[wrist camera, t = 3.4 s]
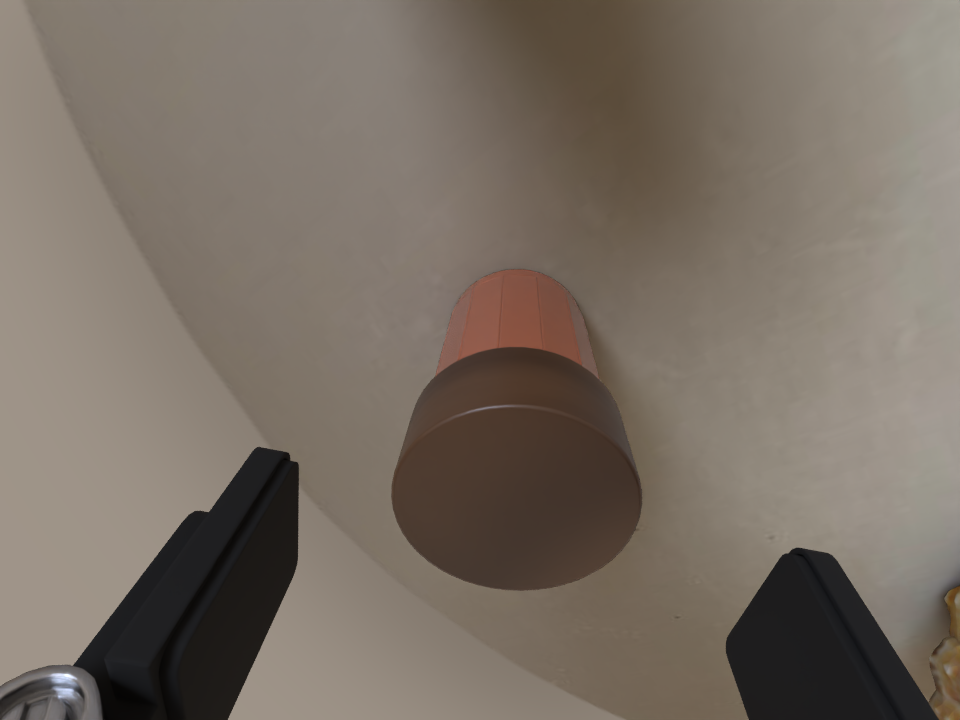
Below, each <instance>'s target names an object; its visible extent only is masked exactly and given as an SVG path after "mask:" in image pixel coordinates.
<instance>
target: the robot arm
mask: <svg viewBox="0 0 960 720" xmlns="http://www.w3.org/2000/svg"><path fill="white" fill-rule="evenodd" d="M298 490H299V465H298V462H293V461H290V455H289V453H287V452H283V451H277V450H272V449H267V448H261V447H257V448H256V449H254V451H253V452H252V453H251V454H250V456H249V457H248V459H247V460H246V461H245V463H244V464H243V466H242V467H241V468H240V470H239V471H238V473H237V474H236V475H235V477H234V478H233V480H232V481H231V482H230V484H229V485H228V487H227V488H226V489H225V491H224V492H223V493H222V495H221V496H220V498H219V499H218V500H217V502H216V503H215V505H214V506H213V508H212V509H211V510H210V511H209V512H204V511H194V512H193V513H191V514H190V515H188V517H187V518H186V519H185V520H184V521H183V522H182V523H181V525H180V526H179V527H178V529H177V530H176V531H175V532H174V534H173V535H172V537H171V538H170V539H169V540H168V542H167V543H166V544H165V546H164V547H163V548H162V550H161V551H160V552H159V553H158V555H157V556H156V558H155V559H154V560H153V561H152V563H151V564H150V565H149V567H148V568H147V569H146V571H145V572H144V573H143V575H142V576H141V577H140V578H139V580H138V581H137V583H136V584H135V585H134V586H133V588H132V589H131V590H130V592H129V593H128V594H127V595H126V597H125V598H124V600H123V601H122V602H121V603H120V605H119V606H118V607H117V609H116V610H115V612H114V613H113V614H112V615H111V616H110V618H109V619H108V620H107V622H106V623H105V625H104V626H103V627H102V628H101V630H100V631H99V632H98V634H97V635H96V636H95V637H94V639H93V640H92V642H91V643H90V644H89V645H88V647H87V648H86V649H85V651H84V652H83V653H82V655H81V656H80V658H78V660H77V661H76V663H75V664H74V665H73V666H71V665H52V666H46V667H42V668H39V669H36V670H32V671H29V672H26V673H24V674H22V675H20V676H18V677H16V678H14V679H12V680H10V681H8V682H6V683H4V684H3V685H2V686H0V720H228V718H229V715H230V713H231V711H232V709H233V707H234V705H235V702H236V700H237V698H238V696H239V694H240V692H241V689H242V687H243V685H244V683H245V681H246V678H247V676H248V674H249V672H250V669H251V668H252V665H253V663H254V661H255V659H256V657H257V654H258V652H259V650H260V648H261V646H262V643H263V641H264V639H265V637H266V635H267V633H268V630H269V628H270V626H271V624H272V622H273V620H274V617H275V615H276V613H277V611H278V608H279V607H280V604H281V602H282V600H283V598H284V596H285V593H286V591H287V589H288V587H289V584H290V583H291V580H292V578H293V576H294V573H295V570H296V566H297V561H298ZM726 654H727V658H728V661H729V664H730V666H731V669H732V672H733V675H734V678H735V681H736V684H737V687H738V689H739V692H740V695H741V698H742V701H743V704H744V707H745V710H746V712H747V715H748V718H749V720H939V719H938V717H937V716H936V714H935V713H934V711H933V709H932V708H931V706H930V705H929V703H928V702H927V700H926V699H925V697H924V695H923V694H922V692H921V691H920V689H919V688H918V686H917V685H916V683H915V681H914V680H913V678H912V677H911V675H910V674H909V672H908V671H907V669H906V667H905V666H904V664H903V663H902V661H901V660H900V658H899V657H898V655H897V653H896V652H895V650H894V649H893V647H892V646H891V644H890V643H889V641H888V639H887V638H886V636H885V635H884V633H883V632H882V630H881V628H880V627H879V625H878V624H877V622H876V621H875V619H874V618H873V616H872V614H871V613H870V611H869V610H868V608H867V607H866V605H865V604H864V602H863V600H862V599H861V597H860V596H859V594H858V593H857V591H856V590H855V588H854V586H853V585H852V583H851V582H850V580H849V579H848V577H847V576H846V574H845V572H844V571H843V569H842V568H841V566H840V565H839V563H838V561H837V560H836V559H835V558H834V557H833V556H832V555H830V554H829V553H824V552H819V551H814V550H808V549H803V548H794V549H792V550H791V551H790V552H789V553H788V554H784V555H782V556H781V558H780V559H779V561H778V562H777V564H776V565H775V566H774V568H773V569H772V571H771V572H770V574H769V575H768V577H767V578H766V580H765V581H764V583H763V584H762V586H761V587H760V589H759V590H758V592H757V593H756V595H755V596H754V598H753V599H752V601H751V602H750V604H749V605H748V607H747V608H746V610H745V611H744V613H743V614H742V616H741V617H740V619H739V620H738V622H737V623H736V625H735V626H734V628H733V629H732V631H731V632H730V634H729V635H728V637H727V641H726Z"/></svg>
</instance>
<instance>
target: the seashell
mask: <svg viewBox="0 0 960 720" xmlns="http://www.w3.org/2000/svg"><path fill="white" fill-rule="evenodd" d="M944 600H945V602H946V603H947V605H948V608H947V609H948V611H949V613H950V615H951V624H950V631H949V632H950V636H949V637H947V638H945V639H943V640H942V642H941V643H940V645H939V646H938V647H937V648H936V649H935V650H934V651H933V653H932V655H931V657H930V659H929V662H930V668H931V672H932V675H933V679H934V682H935V686H936V691H935V692H934V694H933V695H932V697H931V698H930V700H929V705H930V706H931V708H932V709H933V711H934V713H935V714H936V716H937V717H938V719H939V720H960V586H959V587H956V588H953V589H951V590H950V591H948V593H947V595H946V596H945V598H944Z"/></svg>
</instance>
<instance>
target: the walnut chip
mask: <svg viewBox="0 0 960 720" xmlns="http://www.w3.org/2000/svg"><path fill="white" fill-rule="evenodd" d="M391 497H392V505H393V510H394V513H395V517H396V520H397V523H398V525H399V527H400V529H401V531H402V533H403V534H404V536H405V537H406V539H407V540H408V542H409V543H410V544H411V545H412V546H413V548H414V549H415V550H416V551H417V552H418V553H419V554H420V555H421V556H423V557H424V558H425V559H426V560H427V561H428V562H430V563H431V564H433V565H434V566H436V567H437V568H439V569H440V570H442V571H444V572H446V573H448V574H450V575H451V576H454V577H456V578H459V579H461V580H463V581H466V582H469V583H473V584H476V585H480V586H484V587H489V588H494V589H502V590H518V591H523V590H539V589H546V588H552V587H556V586H561V585H565V584H568V583H571V582H574V581H577V580H579V579H581V578H583V577H586V576H588V575H590V574H592V573H594V572H595V571H597V570H599V569H600V568H602V567H603V566H605V565H606V564H607V563H609V562H610V561H611V560H612V559H614V558H615V557H616V556H617V555H618V554H619V553H620V552H621V551H622V549H623V548H624V547H625V546H626V544H627V543H628V542H629V540H630V538H631V537H632V535H633V533H634V531H635V529H636V526H637V524H638V521H639V518H640V513H641V508H642V489H641V484H640V479H639V475H638V472H637V468H636V465H635V462H634V458H633V455H632V452H631V448H630V445H629V441H628V438H627V435H626V431H625V428H624V425H623V421H622V418H621V415H620V412H619V409H618V407H617V404H616V402H615V400H614V398H613V397H612V395H611V393H610V392H609V390H608V389H607V388H606V387H605V385H604V384H603V383H602V382H601V381H600V380H599V379H598V378H597V377H596V376H595V375H594V374H593V373H591V372H590V371H589V370H587V369H586V368H584V367H583V366H582V365H580V364H578V363H576V362H574V361H572V360H571V359H569V358H567V357H564V356H561V355H559V354H556V353H553V352H549V351H545V350H541V349H536V348H528V347H503V348H494V349H489V350H485V351H481V352H477V353H475V354H472V355H469V356H466V357H464V358H462V359H460V360H458V361H456V362H454V363H453V364H451V365H450V366H448V367H447V368H445V369H444V370H442V371H441V372H440V373H439V374H438V375H437V376H436V377H434V378H433V379H432V380H431V381H430V383H429V384H428V385H427V386H426V388H425V389H424V390H423V392H422V393H421V395H420V397H419V398H418V400H417V403H416V405H415V408H414V410H413V413H412V417H411V420H410V423H409V427H408V430H407V433H406V436H405V440H404V443H403V446H402V450H401V453H400V456H399V459H398V463H397V466H396V469H395V472H394V477H393V482H392V495H391Z"/></svg>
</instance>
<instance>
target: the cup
mask: <svg viewBox="0 0 960 720" xmlns="http://www.w3.org/2000/svg"><path fill="white" fill-rule="evenodd" d="M503 347H528V348H536V349H541V350H545V351H549V352H553V353H556V354H559V355H561V356H564V357H567V358H569V359H571V360H572V361H574V362H576V363H578V364H580V365H582V366H583V367H584V368H586V369H587V370H589V371H590V372H591V373H593V374H594V375H595V376H596V377H597V378H598V379H599V375H598V371H597V368H596V364H595V360H594V356H593V352H592V348H591V345H590V341H589V337H588V333H587V329H586V326H585V322H584V318H583V316H582V314H581V312H580V309H579V307H578V305H577V303H576V301H575V299H574V298H573V297H572V295H571V294H570V293H569V291H567V290H566V289H565V288H564V287H563V286H562V285H561V284H560V283H558V282H557V281H556V280H554V279H552V278H550V277H548V276H546V275H544V274H541V273H538V272H534V271H530V270H522V269H511V270H503V271H499V272H495V273H492V274H490V275H487V276H485V277H483V278H481V279H480V280H478V281H476V282H475V283H474V284H472V285H471V286H470V287H469V288H468V289H467V290H466V291H465V292H464V293H463V294H462V296H461V297H460V298H459V300H458V302H457V304H456V305H455V308H454V310H453V312H452V315H451V319H450V323H449V326H448V330H447V334H446V338H445V341H444V345H443V349H442V353H441V356H440V360H439V364H438V367H437V371H436V375H435V377H436V376H437V375H438V374H439V373H440V372H441V371H442V370H444V369H445V368H447V367H448V366H450V365H451V364H453V363H454V362H456V361H458V360H460V359H462V358H464V357H466V356H469V355H472V354H475V353H477V352H481V351H485V350H489V349H494V348H503ZM599 380H600V379H599Z"/></svg>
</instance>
